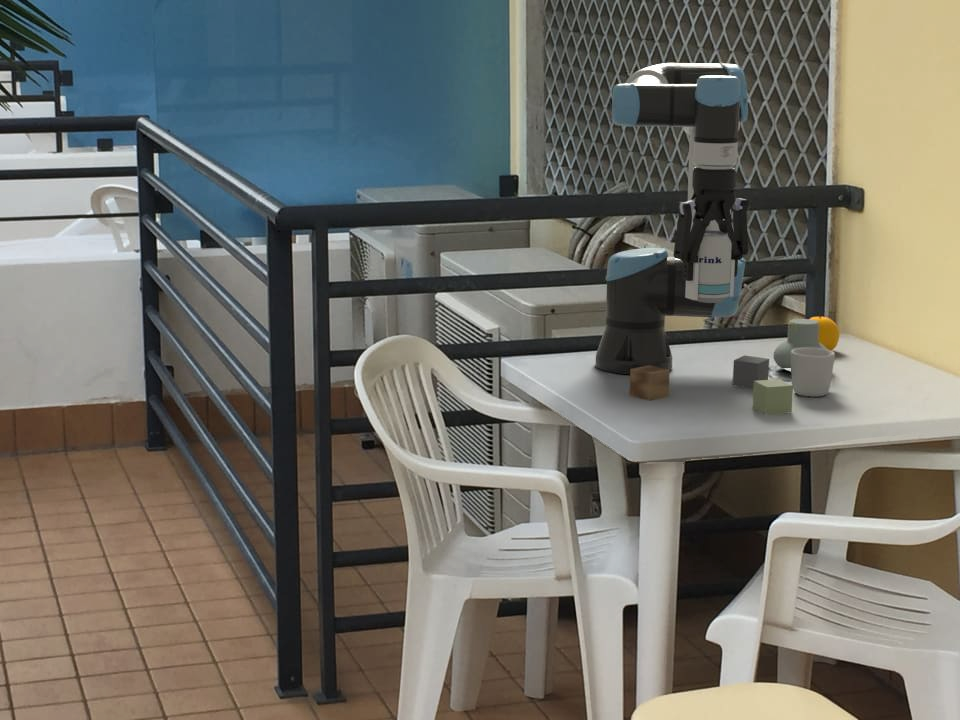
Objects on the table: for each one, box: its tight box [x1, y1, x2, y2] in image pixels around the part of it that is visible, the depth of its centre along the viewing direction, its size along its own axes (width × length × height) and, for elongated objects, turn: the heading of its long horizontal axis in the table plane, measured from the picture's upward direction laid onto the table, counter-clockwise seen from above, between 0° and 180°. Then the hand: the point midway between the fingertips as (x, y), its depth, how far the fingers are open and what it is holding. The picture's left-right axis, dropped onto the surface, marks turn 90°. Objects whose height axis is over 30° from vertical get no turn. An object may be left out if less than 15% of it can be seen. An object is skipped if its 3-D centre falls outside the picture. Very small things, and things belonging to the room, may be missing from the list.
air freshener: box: [772, 318, 828, 369], centre depth 288 cm, size 11×8×10 cm
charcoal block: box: [732, 354, 770, 390], centre depth 277 cm, size 5×5×5 cm
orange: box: [809, 315, 840, 351], centre depth 306 cm, size 8×8×8 cm
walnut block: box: [629, 365, 671, 401], centre depth 269 cm, size 5×5×5 cm
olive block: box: [752, 378, 794, 415], centre depth 259 cm, size 5×5×5 cm
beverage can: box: [695, 231, 732, 303], centre depth 259 cm, size 7×7×12 cm
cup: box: [790, 347, 836, 398], centre depth 271 cm, size 11×8×8 cm
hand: (709, 296), depth 260 cm, fingers closed on beverage can, 7 cm apart
